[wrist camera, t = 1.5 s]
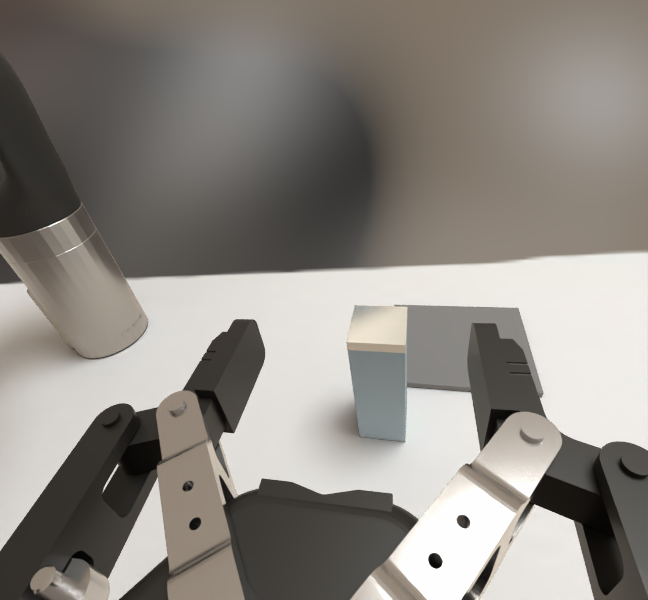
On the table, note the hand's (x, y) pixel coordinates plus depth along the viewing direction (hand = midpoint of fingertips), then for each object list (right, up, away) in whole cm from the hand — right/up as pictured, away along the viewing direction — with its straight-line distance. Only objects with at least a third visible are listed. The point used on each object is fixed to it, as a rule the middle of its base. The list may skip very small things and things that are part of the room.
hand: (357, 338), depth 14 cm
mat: (+13, -4, +26) cm, 30 cm away
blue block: (+4, -10, +20) cm, 23 cm away
